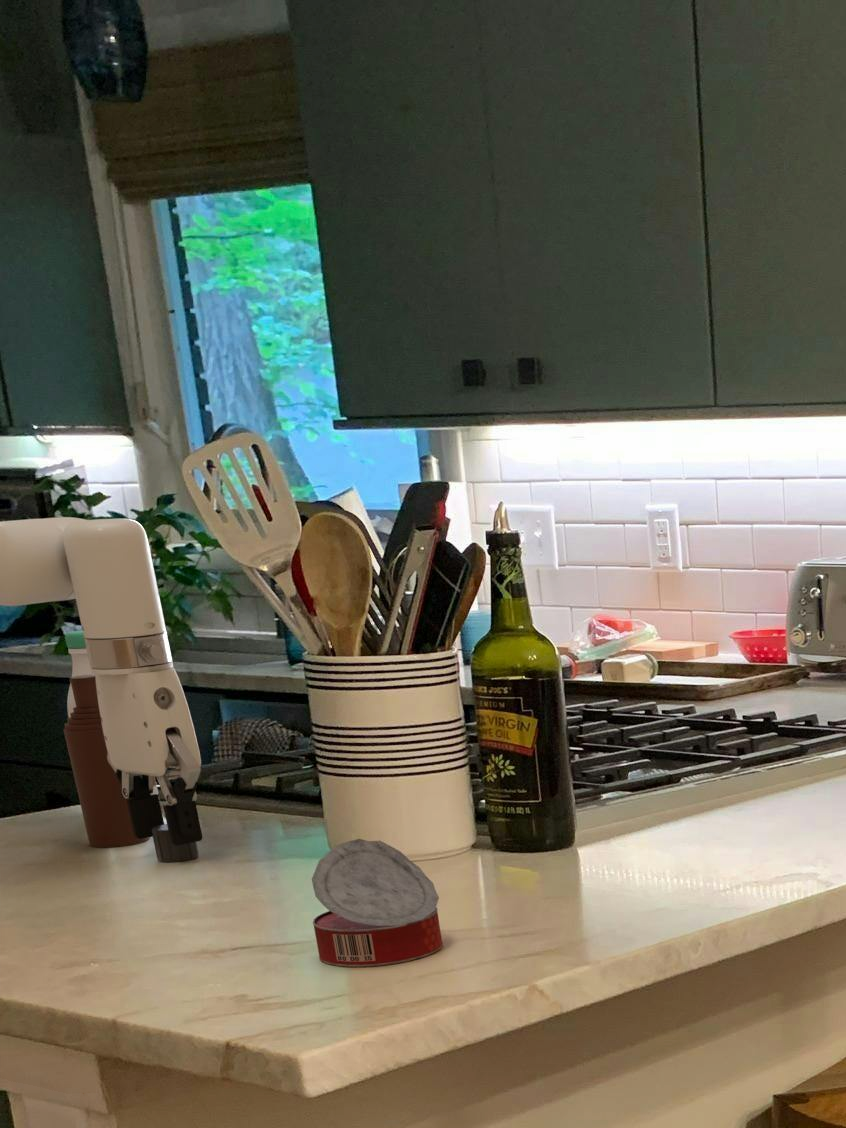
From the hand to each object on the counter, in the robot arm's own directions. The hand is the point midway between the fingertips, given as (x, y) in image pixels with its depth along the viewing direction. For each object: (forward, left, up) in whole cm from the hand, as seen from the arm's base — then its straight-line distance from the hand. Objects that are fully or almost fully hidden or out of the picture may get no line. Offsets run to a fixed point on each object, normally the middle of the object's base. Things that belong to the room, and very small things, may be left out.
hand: (168, 837), depth 196 cm
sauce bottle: (-11, +9, -2) cm, 15 cm away
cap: (0, 0, -2) cm, 2 cm away
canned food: (+39, -36, -2) cm, 53 cm away
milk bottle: (-20, +25, -2) cm, 32 cm away
